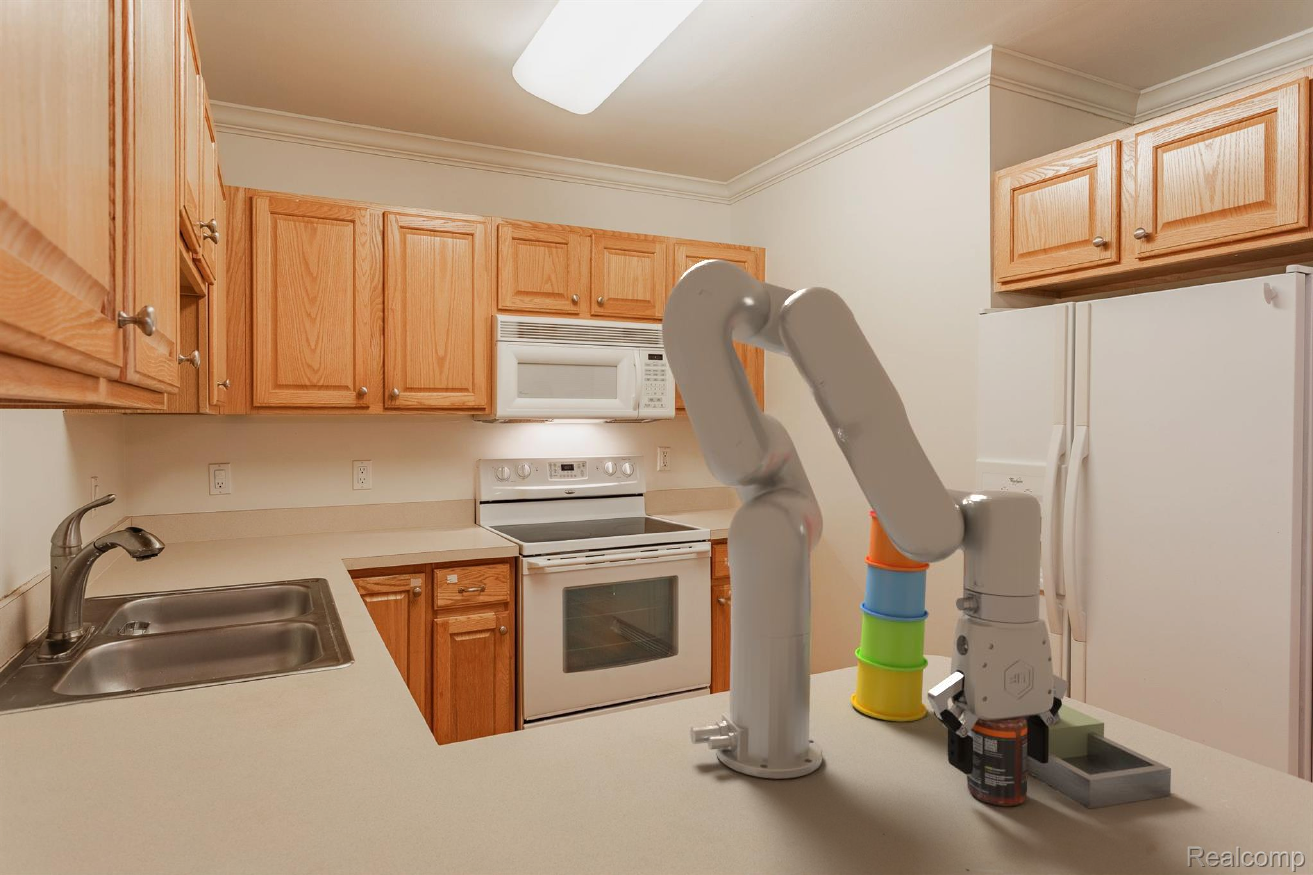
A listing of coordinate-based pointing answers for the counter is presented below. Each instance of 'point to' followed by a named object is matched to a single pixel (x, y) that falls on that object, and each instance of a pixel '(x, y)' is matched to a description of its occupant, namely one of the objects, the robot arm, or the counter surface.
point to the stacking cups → (891, 633)
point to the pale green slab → (1071, 732)
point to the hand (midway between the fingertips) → (998, 763)
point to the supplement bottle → (999, 761)
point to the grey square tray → (1104, 774)
